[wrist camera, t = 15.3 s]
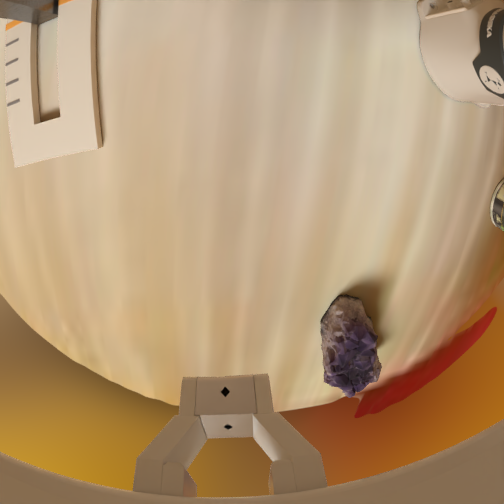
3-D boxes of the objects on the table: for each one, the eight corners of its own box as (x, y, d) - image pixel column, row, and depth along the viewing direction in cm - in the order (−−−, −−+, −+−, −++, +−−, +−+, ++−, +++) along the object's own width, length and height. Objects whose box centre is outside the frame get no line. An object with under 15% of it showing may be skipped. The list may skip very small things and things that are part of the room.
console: (102, 146, 32) (97, 149, 31) (21, 164, 31) (14, 167, 30) (101, -47, 18) (96, -51, 17) (17, -11, 18) (10, -12, 16)
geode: (298, 307, 47) (321, 349, 38) (362, 279, 47) (394, 314, 38) (319, 379, 56) (336, 417, 47) (369, 356, 56) (392, 390, 48)
